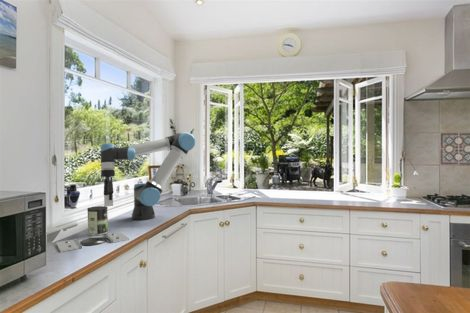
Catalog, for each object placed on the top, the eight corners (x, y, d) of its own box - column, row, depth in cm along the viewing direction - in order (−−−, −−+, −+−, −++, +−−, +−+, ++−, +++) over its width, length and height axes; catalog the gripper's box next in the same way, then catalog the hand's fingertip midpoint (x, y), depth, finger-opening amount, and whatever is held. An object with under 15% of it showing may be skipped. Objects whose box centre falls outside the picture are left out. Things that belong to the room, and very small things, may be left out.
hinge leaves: (120, 233, 173) (120, 231, 173) (128, 239, 161) (128, 236, 161) (55, 244, 154) (55, 241, 154) (60, 251, 143) (60, 248, 143)
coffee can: (108, 230, 181) (108, 205, 180) (107, 234, 171) (106, 208, 170) (89, 231, 178) (88, 206, 177) (86, 236, 168) (85, 210, 167)
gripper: (98, 172, 195) (98, 206, 192) (104, 167, 174) (104, 206, 171) (111, 171, 199) (111, 205, 196) (118, 167, 177) (119, 205, 175)
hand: (108, 206), depth 183 cm, fingers open, 13 cm apart
